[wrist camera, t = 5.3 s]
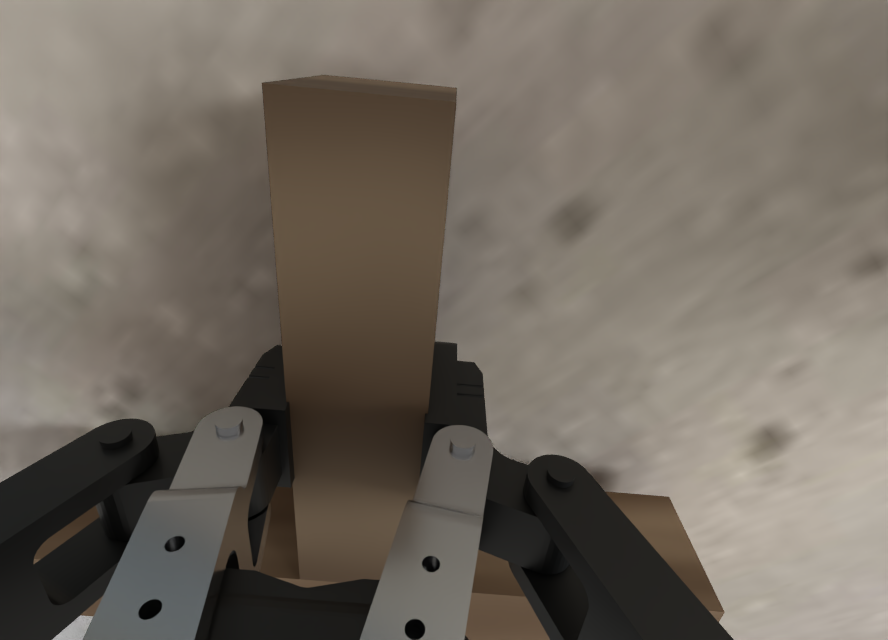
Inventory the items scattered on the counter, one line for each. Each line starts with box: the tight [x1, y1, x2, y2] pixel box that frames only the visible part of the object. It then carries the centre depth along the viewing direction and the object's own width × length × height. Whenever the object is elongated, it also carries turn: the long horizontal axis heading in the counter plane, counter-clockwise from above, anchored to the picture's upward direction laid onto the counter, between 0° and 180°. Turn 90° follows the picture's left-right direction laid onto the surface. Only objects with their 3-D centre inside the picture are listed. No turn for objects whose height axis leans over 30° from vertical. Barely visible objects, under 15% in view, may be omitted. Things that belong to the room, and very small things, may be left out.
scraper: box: [34, 75, 724, 640], centre depth 13 cm, size 14×20×4 cm
